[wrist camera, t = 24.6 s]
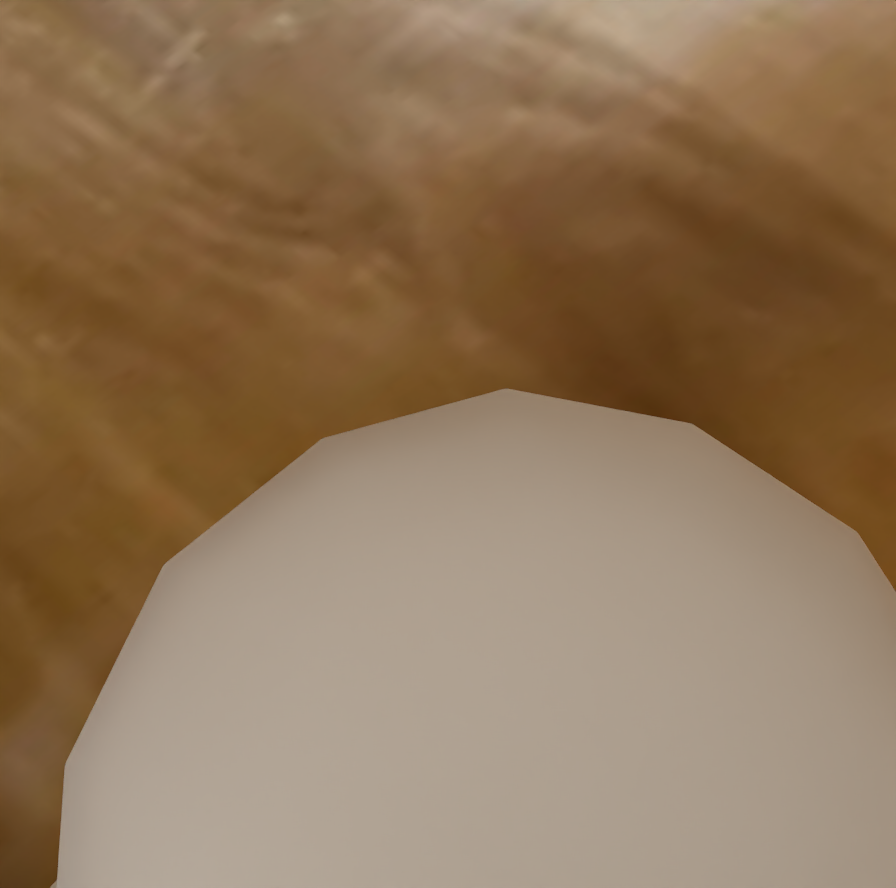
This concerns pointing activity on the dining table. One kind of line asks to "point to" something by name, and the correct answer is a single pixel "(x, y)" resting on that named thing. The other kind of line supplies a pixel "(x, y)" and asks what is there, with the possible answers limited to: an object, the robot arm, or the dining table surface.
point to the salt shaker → (501, 674)
